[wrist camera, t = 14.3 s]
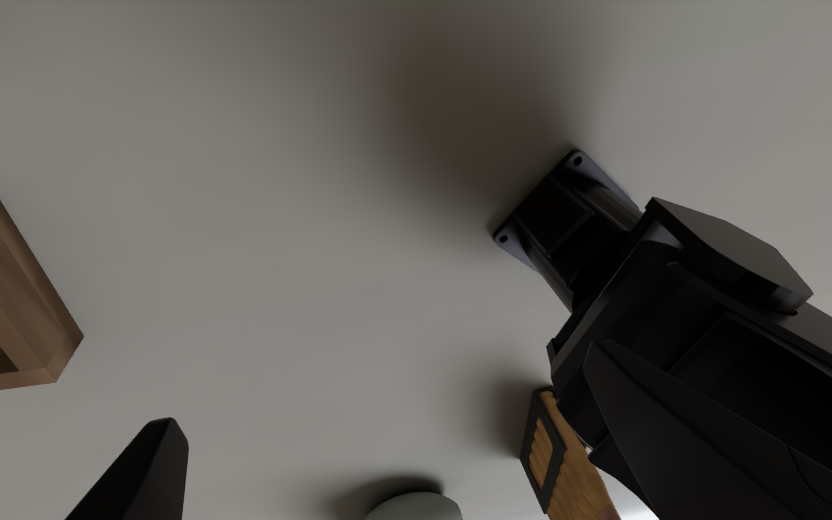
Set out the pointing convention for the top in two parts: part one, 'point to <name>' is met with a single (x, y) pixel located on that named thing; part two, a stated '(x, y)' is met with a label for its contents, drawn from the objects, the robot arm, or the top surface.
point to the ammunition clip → (561, 466)
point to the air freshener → (417, 508)
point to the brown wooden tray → (30, 316)
